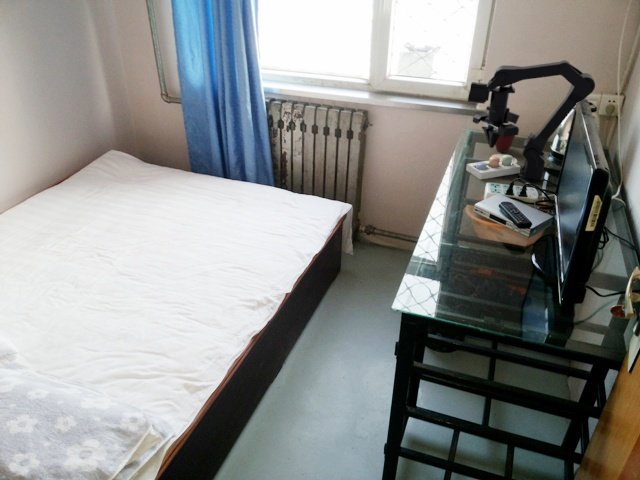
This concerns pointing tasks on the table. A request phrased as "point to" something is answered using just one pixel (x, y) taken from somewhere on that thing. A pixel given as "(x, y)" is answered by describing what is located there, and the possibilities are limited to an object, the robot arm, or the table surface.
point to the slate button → (481, 166)
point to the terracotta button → (494, 162)
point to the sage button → (506, 160)
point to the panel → (492, 170)
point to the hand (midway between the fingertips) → (491, 147)
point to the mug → (504, 143)
